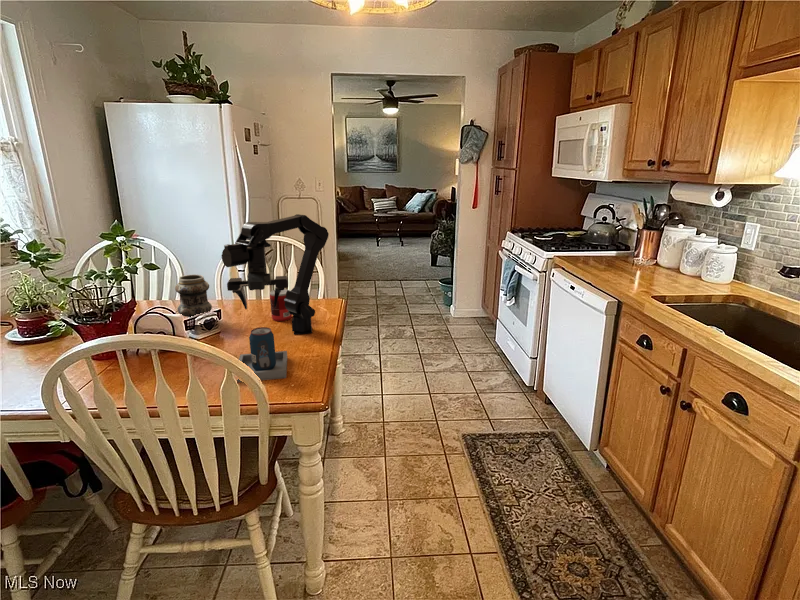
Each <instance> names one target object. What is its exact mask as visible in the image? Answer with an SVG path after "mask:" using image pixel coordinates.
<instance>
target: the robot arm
mask: <svg viewBox="0 0 800 600" xmlns="http://www.w3.org/2000/svg"><path fill="white" fill-rule="evenodd" d="M295 229H298V230H299V232H300V233H301V234H303V244H304V252H303V255H302V258H301V261H300V265H299V269H298V273H297V276H296V280H295V283H294V287H293V288H292V289H291V290H290V289H288V288H289V277H288V276H286V275H275V278H274V279H271V274H270V272H269V273H268V271H267V269H268V268H267V258H266V249H265V248H270V247H271V245H272V244H270V243H269V242H268V241H267V240H268V239H270V238H271V237H272V236H274V235H275V234H279V233H283V232H286V231H287V232H288V231H291V230H295ZM328 239H329V232H328V229H327V228H326V227H325V226H322V225H320V224H319V223H318V222H316V221H314V220H312V219H311V218H309V216H307V215H305V214H295V215H291V216H287V217H283V218H278V219H274V220H270V221H247V222H245V223H243V225H242V227H241V231H240V233H239V235H238V236H237V239H236V241H235V243H234V244H223V247H224V248H223V249H222V253H221V260H222V264H224V266H225V268H231V267H238V266H243V265H246V264H247V280H243V279H242V277H232V278H230V279H228V280H227V283H226V287H227V291H229V292H230V291H231V292H232V293H233V294H236V295H237V296H238V297H239V299H240V301H241V302H242V304H243V307H244V309H245V310H247V309H248V303H247V302H248V301H247V297H246V293H245V287H248V290H249V291H256V290H257V291H258V290H259V291H263V290H265V288H266V286H274V290H275V296H274V308H276V304H277V300H278V296H279V294H280V292H281V290H284V289H287V292H286V297H285V299H284V301H285V307H286V309H287V310H288V311H289V314H292V317H291V330H292V332H293V334H294V335H304V334H305V335H306V334H307V335H308V334H313V329H312V328H313V327H312V317H314V316H315V314H316V310H315V309H314V308H313V307H312V306H311V305H310V302H311V301H310V300H311V297H310V295H309V294H310V293H309V288H310V285H311V280H312V277H313V273H314V270H315V266H316V264H317V259H318V256H319V253H320V251H321V250H322V249H323V248H325V245H326V244H327V241H328ZM289 290H290V291H289Z"/></svg>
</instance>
